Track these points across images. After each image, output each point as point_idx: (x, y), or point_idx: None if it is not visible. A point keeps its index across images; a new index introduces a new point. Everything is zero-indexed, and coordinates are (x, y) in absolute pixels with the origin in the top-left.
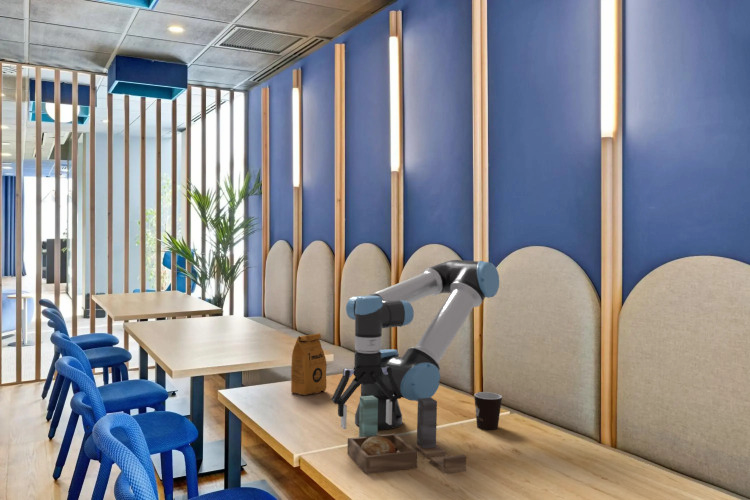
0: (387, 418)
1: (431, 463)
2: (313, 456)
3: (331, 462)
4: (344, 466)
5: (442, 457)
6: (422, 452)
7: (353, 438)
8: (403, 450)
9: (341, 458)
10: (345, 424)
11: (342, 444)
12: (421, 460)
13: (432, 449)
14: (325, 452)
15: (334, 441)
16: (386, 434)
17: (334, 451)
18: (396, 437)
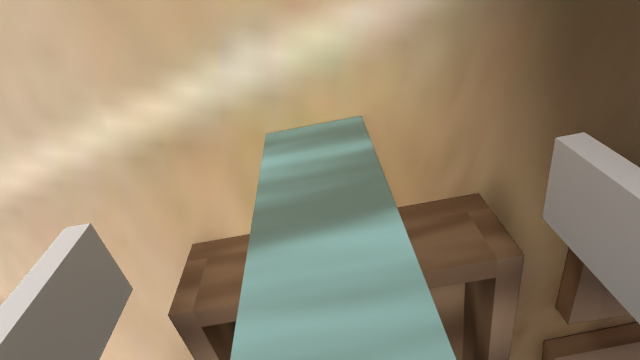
0: (581, 208)
1: (543, 349)
2: (4, 263)
3: (121, 324)
4: (186, 355)
5: (608, 354)
6: (570, 295)
7: (208, 318)
8: (471, 347)
9: (165, 291)
10: (107, 324)
11: (147, 94)
12: (525, 322)
13: None
14: (58, 218)
15: (70, 16)
16: (454, 266)
17: (111, 208)
18: (493, 313)
